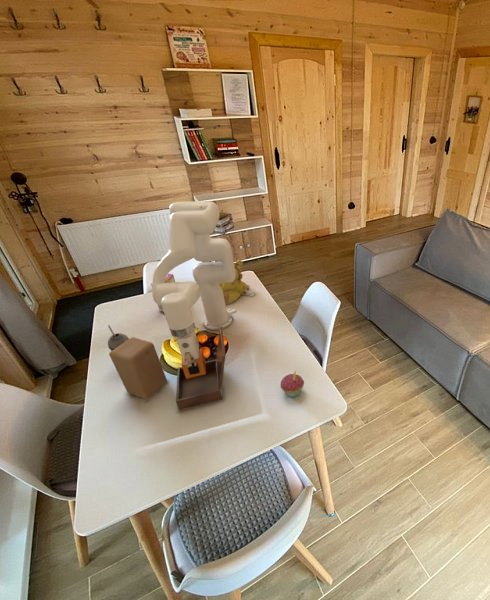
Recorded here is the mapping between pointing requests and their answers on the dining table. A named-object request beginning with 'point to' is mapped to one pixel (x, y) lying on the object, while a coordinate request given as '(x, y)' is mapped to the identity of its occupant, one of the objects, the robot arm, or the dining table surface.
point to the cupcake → (292, 384)
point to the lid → (220, 358)
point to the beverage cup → (116, 340)
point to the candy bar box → (168, 280)
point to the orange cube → (199, 361)
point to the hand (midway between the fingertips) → (194, 366)
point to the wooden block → (138, 367)
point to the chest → (198, 387)
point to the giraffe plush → (234, 286)
